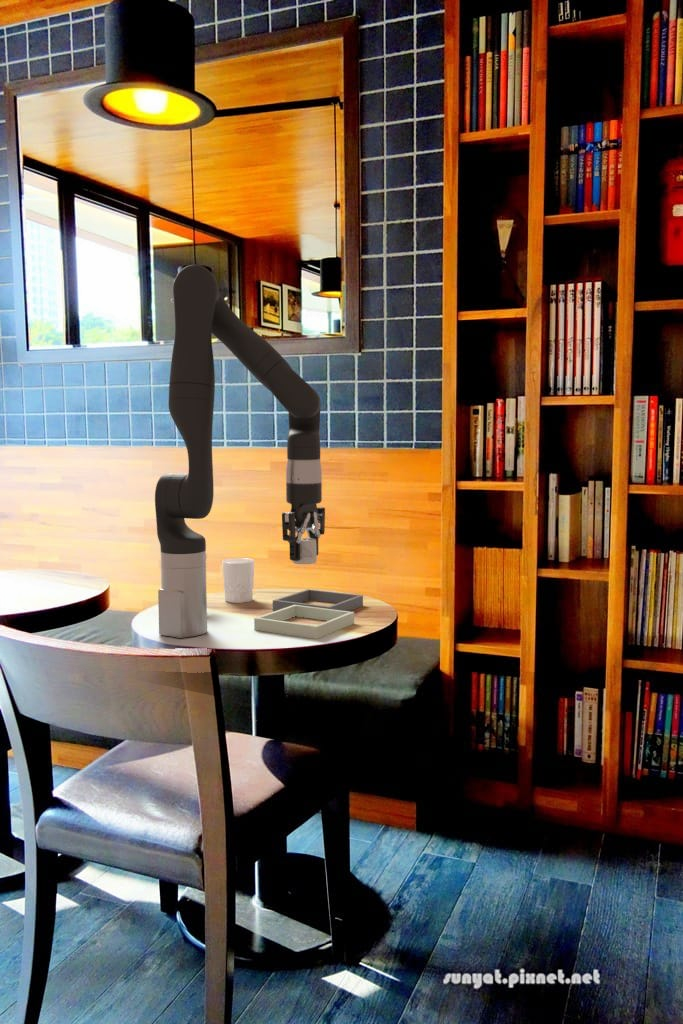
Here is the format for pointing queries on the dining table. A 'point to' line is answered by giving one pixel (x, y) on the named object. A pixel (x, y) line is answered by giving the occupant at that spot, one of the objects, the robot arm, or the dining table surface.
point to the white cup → (238, 579)
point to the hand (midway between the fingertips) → (304, 557)
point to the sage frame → (278, 625)
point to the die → (307, 551)
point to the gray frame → (342, 599)
